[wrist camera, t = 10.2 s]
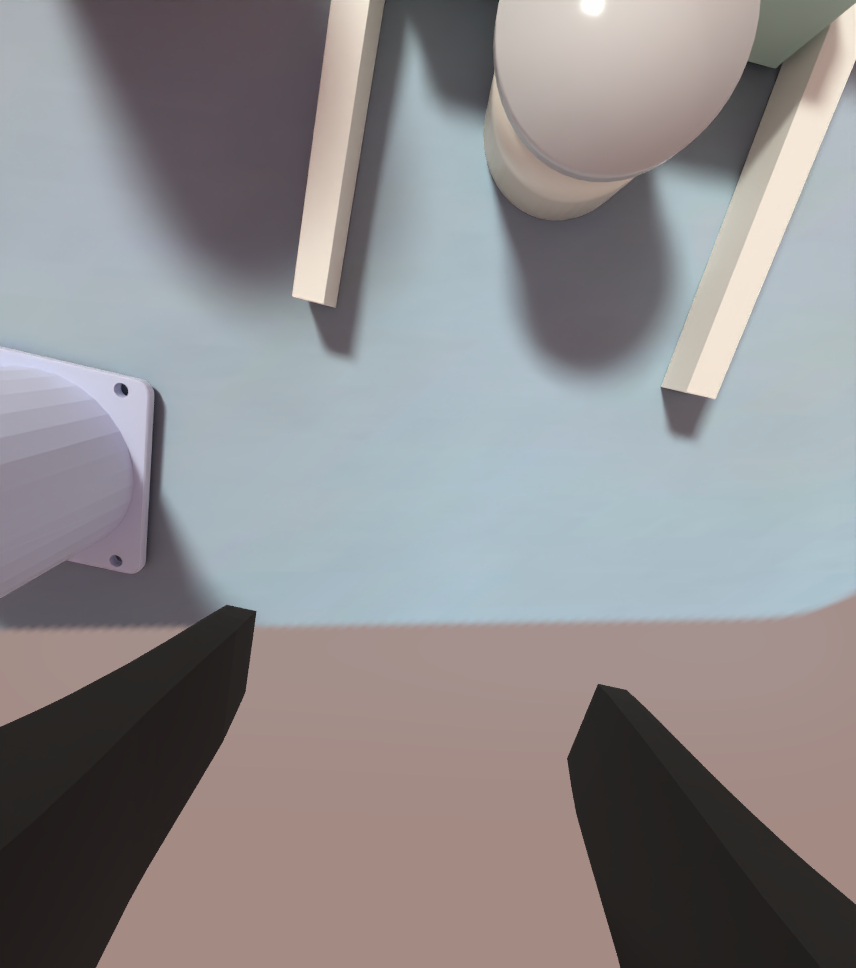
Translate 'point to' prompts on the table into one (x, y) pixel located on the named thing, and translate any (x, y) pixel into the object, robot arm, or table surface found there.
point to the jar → (605, 92)
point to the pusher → (791, 27)
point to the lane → (741, 240)
